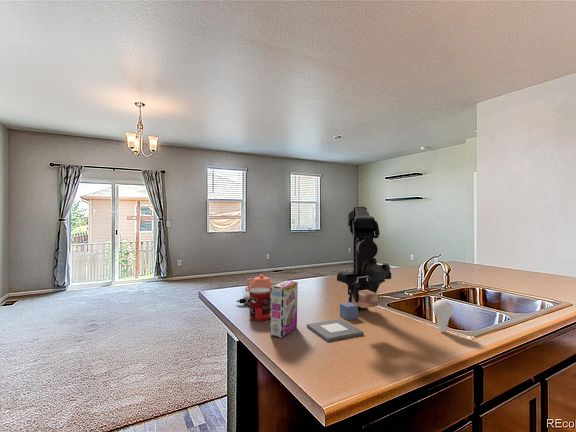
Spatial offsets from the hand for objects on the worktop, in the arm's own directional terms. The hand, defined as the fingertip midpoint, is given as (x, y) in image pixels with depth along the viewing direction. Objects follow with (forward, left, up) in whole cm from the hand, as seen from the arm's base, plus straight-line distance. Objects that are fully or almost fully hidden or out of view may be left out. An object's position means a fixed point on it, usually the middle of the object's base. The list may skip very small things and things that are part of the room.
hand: (364, 301), depth 104 cm
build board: (+8, -6, -11) cm, 15 cm away
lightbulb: (-25, +10, -11) cm, 29 cm away
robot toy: (+23, -46, -11) cm, 53 cm away
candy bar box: (+24, -12, -11) cm, 29 cm away
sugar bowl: (+16, -62, -11) cm, 65 cm away
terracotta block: (0, 0, -1) cm, 1 cm away
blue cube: (-5, -16, -11) cm, 20 cm away
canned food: (+27, -29, -11) cm, 41 cm away
